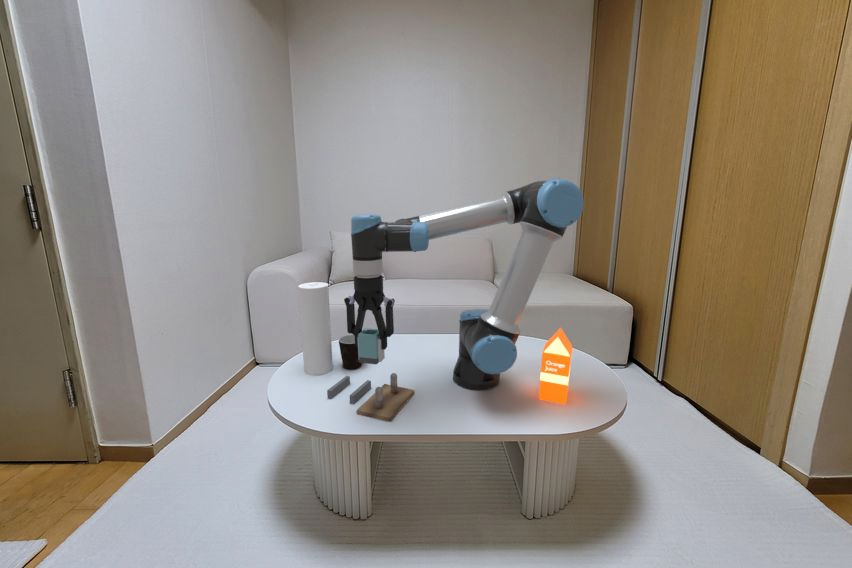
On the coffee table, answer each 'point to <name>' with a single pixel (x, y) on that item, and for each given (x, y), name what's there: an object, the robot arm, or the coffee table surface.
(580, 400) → the coffee table surface
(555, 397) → the orange juice
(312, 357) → the cylinder container
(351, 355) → the coffee mug
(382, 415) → the pin board
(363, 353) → the sleeve
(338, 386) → the feeder rails
